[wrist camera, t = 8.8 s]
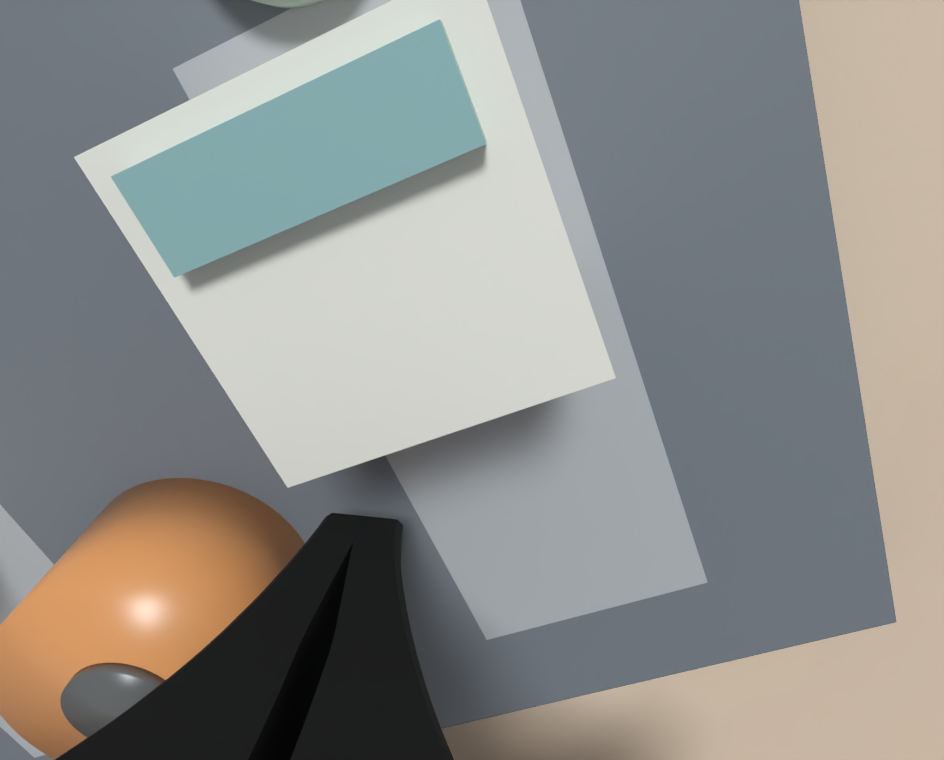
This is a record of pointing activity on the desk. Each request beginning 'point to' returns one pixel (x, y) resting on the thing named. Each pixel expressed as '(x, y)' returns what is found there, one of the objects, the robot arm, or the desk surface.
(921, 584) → the desk surface
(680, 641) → the breaker panel
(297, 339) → the block
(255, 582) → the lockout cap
